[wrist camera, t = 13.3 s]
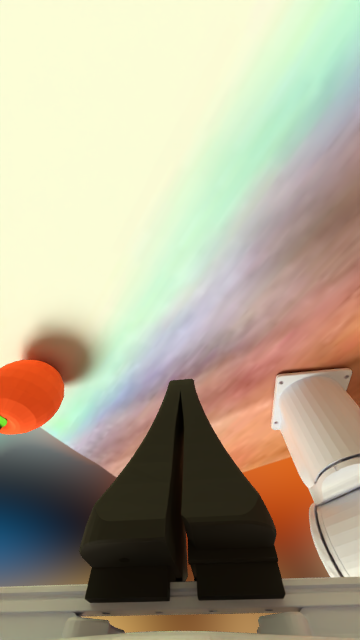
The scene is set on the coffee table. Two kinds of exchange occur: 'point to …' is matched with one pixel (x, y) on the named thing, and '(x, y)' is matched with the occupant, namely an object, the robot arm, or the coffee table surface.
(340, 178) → the coffee table surface
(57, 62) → the coffee table surface
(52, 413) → the clementine
